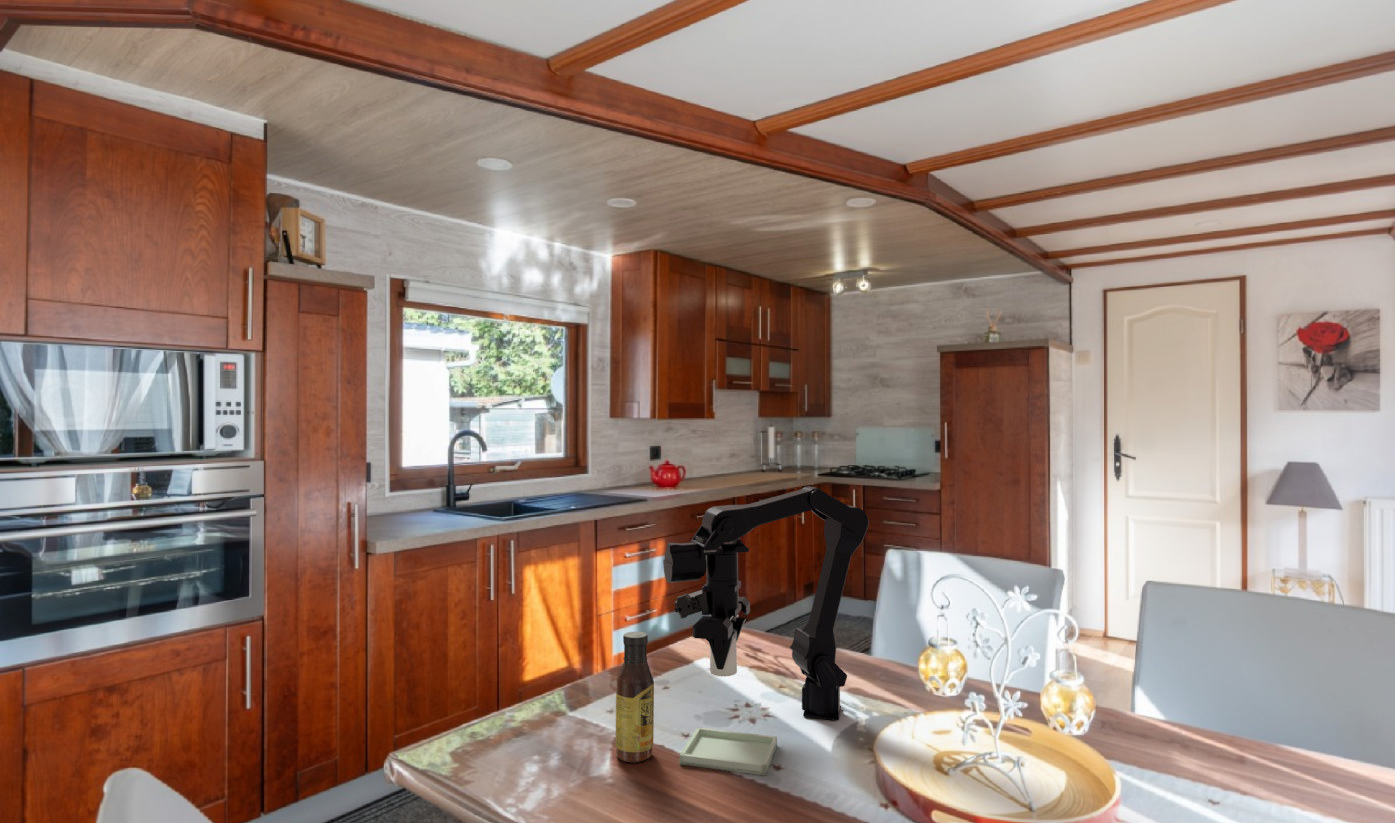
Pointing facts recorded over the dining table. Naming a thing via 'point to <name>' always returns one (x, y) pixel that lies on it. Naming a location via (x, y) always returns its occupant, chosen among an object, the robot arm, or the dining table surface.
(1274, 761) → the dining table surface
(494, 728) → the dining table surface
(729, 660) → the spice jar
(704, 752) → the tray
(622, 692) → the sauce bottle
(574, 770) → the dining table surface
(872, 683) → the dining table surface
